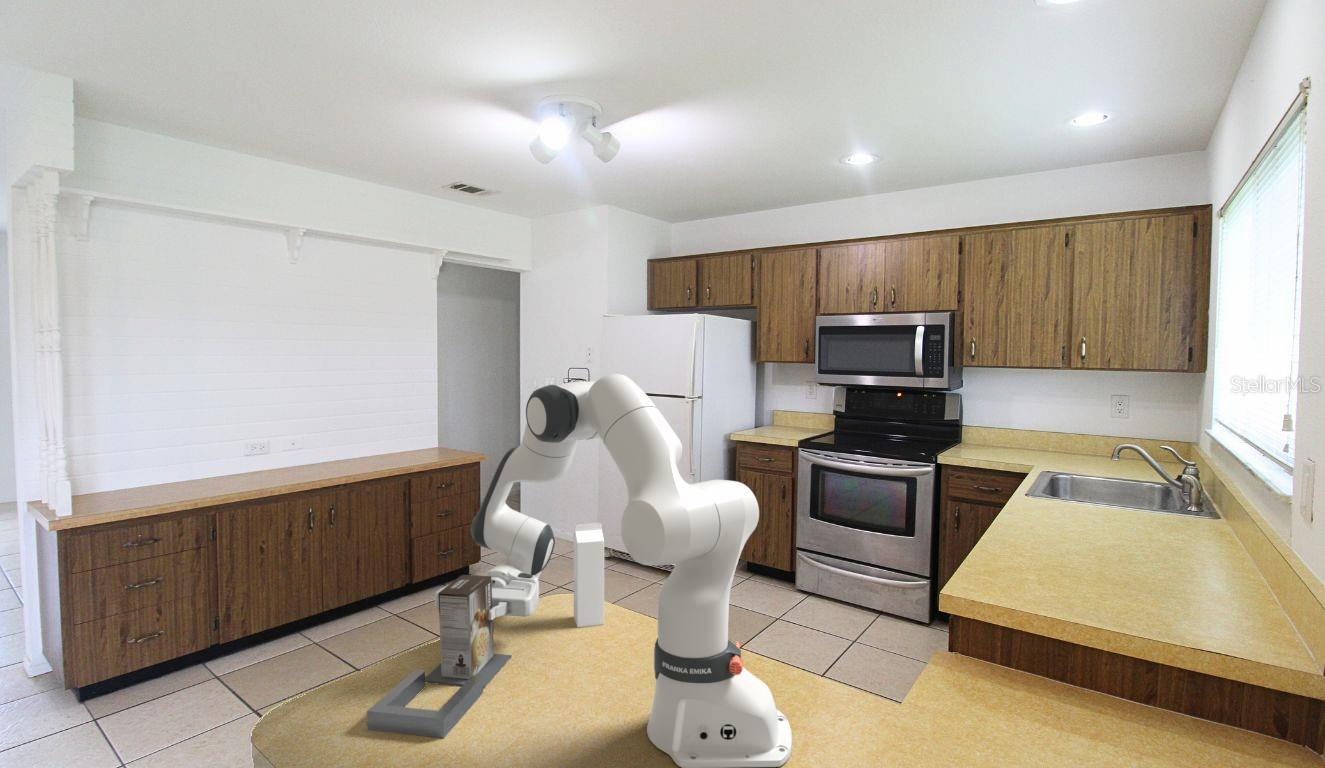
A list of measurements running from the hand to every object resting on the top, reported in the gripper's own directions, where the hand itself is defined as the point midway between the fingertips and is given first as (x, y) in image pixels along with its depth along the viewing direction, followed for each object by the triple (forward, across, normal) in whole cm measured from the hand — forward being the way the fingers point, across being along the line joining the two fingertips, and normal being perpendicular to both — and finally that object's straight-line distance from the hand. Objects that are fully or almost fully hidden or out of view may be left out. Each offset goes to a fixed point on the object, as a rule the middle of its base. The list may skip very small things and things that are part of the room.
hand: (468, 614), depth 118 cm
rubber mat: (0, 0, +10) cm, 10 cm away
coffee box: (0, 0, +10) cm, 10 cm away
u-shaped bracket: (+14, 0, +10) cm, 18 cm away
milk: (-25, +16, +11) cm, 32 cm away
